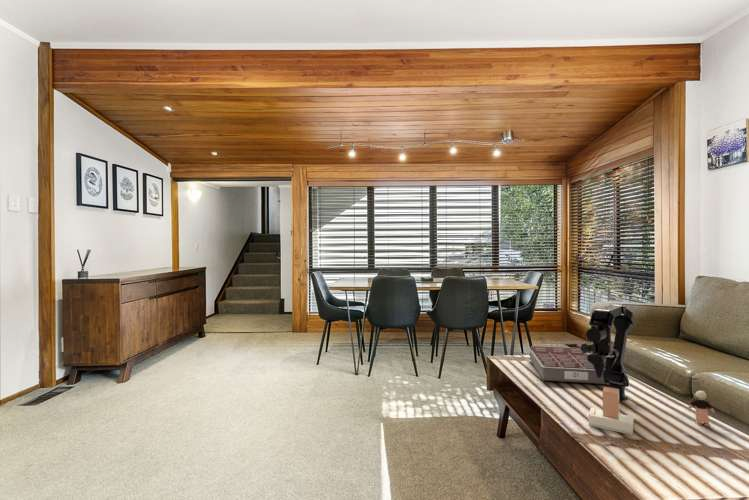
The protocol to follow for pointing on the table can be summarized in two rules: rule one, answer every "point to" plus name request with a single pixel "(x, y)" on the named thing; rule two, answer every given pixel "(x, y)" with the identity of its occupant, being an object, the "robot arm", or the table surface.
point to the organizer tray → (563, 364)
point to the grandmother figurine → (701, 408)
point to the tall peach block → (611, 403)
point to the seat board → (611, 422)
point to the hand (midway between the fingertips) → (603, 375)
